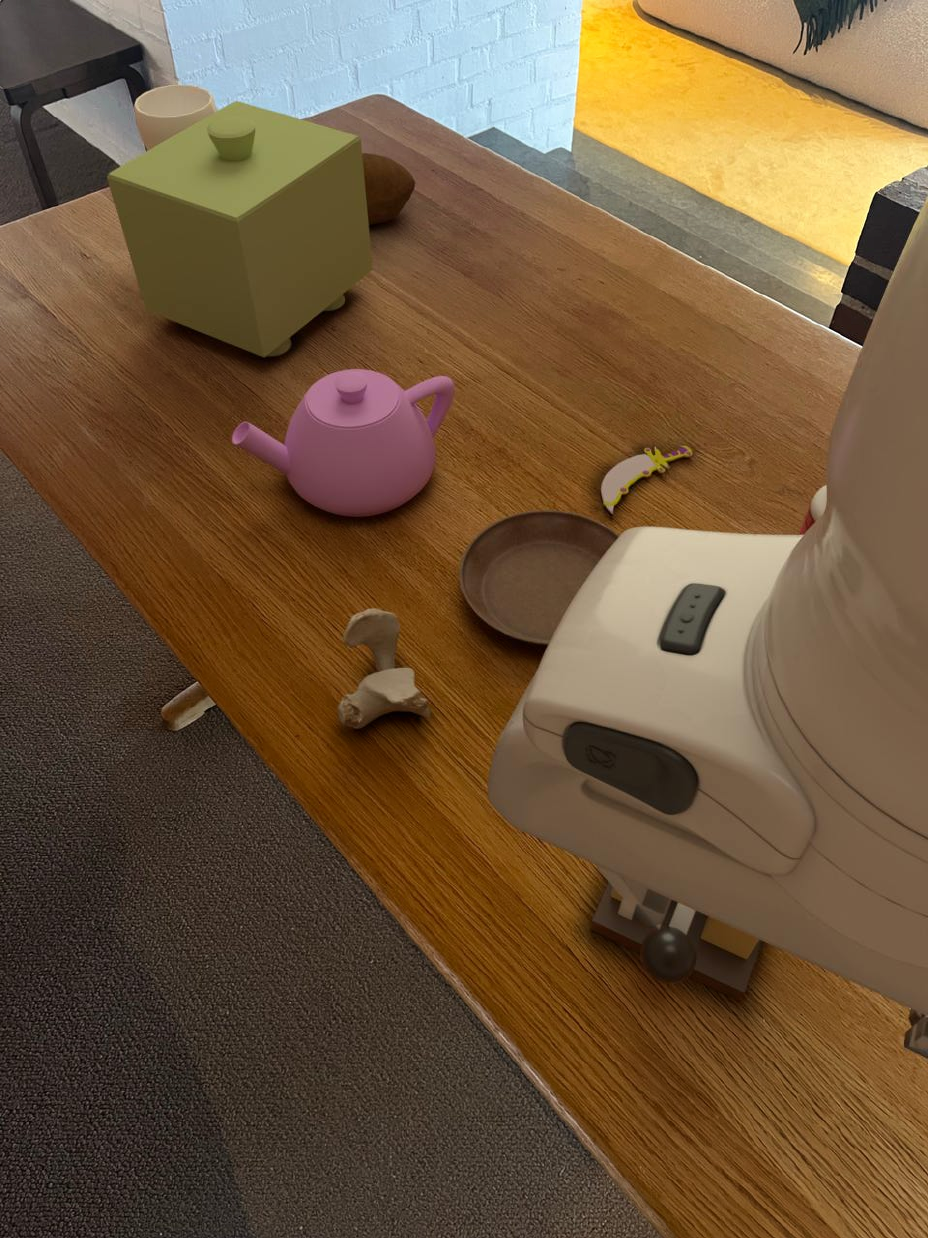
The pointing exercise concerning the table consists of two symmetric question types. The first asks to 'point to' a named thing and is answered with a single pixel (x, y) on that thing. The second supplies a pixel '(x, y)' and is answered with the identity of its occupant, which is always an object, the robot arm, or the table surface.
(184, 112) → the cup
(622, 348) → the table surface
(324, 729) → the table surface
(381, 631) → the bone
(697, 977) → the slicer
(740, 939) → the butter
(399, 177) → the potato
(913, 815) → the robot arm
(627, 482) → the decorative knife
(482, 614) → the saucer
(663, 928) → the ball-knob lever switch
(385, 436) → the teapot
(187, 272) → the container
